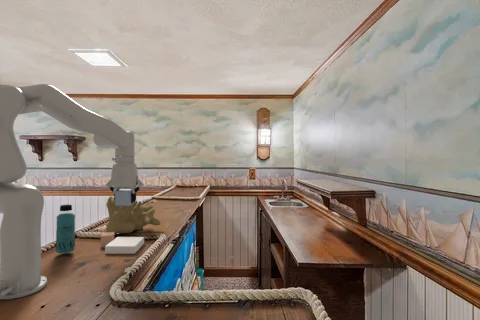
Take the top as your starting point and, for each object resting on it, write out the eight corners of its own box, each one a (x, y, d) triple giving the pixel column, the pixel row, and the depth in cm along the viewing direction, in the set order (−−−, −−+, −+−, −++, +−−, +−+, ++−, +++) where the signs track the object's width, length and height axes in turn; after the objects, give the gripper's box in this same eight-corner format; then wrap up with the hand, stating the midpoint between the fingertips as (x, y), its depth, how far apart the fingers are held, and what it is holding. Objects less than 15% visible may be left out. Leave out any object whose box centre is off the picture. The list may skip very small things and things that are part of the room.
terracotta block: (113, 246, 118) (113, 235, 118) (100, 247, 116) (100, 236, 116) (114, 242, 122) (114, 231, 122) (102, 243, 121) (102, 232, 121)
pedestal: (134, 253, 110) (134, 246, 110) (104, 253, 109) (105, 246, 109) (144, 243, 122) (144, 237, 122) (117, 243, 121) (117, 236, 121)
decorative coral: (81, 211, 131) (122, 177, 145) (104, 236, 145) (139, 203, 159) (111, 233, 118) (153, 193, 131) (133, 257, 132) (168, 219, 146)
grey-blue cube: (129, 205, 112) (129, 191, 111) (115, 205, 112) (115, 191, 111) (134, 202, 118) (134, 189, 117) (121, 202, 118) (120, 189, 117)
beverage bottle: (52, 255, 106) (52, 205, 106) (69, 250, 112) (69, 202, 111) (61, 258, 103) (61, 207, 103) (78, 253, 109) (78, 204, 108)
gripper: (99, 160, 110) (100, 204, 110) (142, 161, 110) (142, 204, 111) (108, 159, 117) (108, 200, 118) (148, 160, 118) (148, 200, 119)
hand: (125, 201), depth 115 cm, fingers closed on grey-blue cube, 6 cm apart
